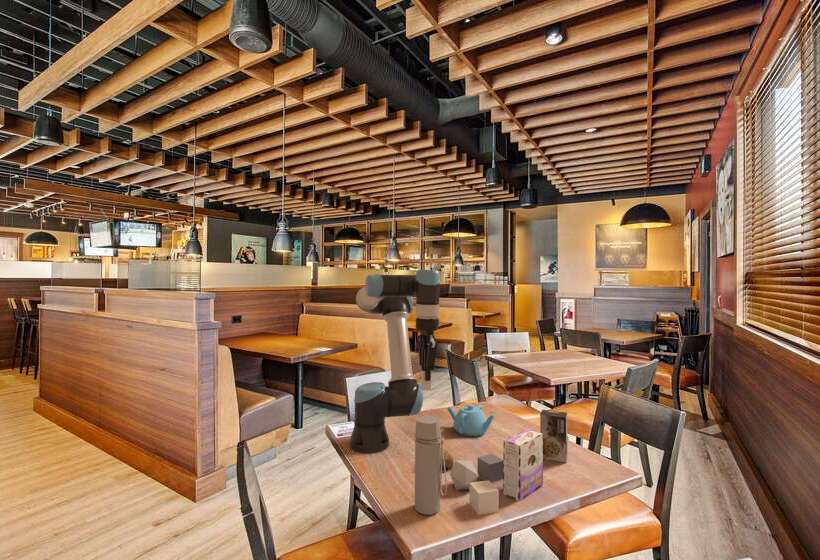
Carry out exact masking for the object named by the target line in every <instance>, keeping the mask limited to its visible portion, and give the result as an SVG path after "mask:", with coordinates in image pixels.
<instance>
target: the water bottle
mask: <svg viewBox="0 0 820 560" xmlns="http://www.w3.org/2000/svg"><path fill="white" fill-rule="evenodd" d="M415 423H416V424H415V433H414V438H415V439H414V447H415V448H414V456H415V457H414V509H415V510H416V512H418V513H420V514H421V515H425V516H432V515H436V513H437V512H439V511H440V509H441V496H446V495H447V489H448V481H447V473H446V472H447V471H446V470H445V460H444V451H443V449H444V444H445V443H444V442H445V438H444V436H443V435H441V434H442V432H441V420H440V418H438V416H433V415H423V416H419V417H417V418H416V421H415ZM440 448H442V450H441V473H440ZM442 451H443V462H444V472H443V473H444V480H445V481H444V482H445V492H444V493H443V490H442V479H443V477H442V476H443V475H442V474H443V473H442Z"/></svg>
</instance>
